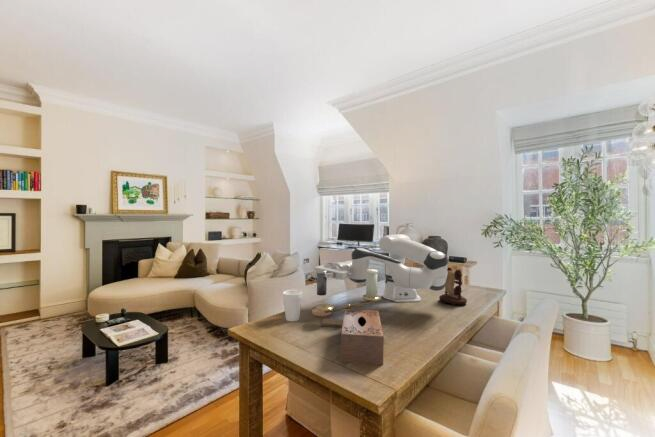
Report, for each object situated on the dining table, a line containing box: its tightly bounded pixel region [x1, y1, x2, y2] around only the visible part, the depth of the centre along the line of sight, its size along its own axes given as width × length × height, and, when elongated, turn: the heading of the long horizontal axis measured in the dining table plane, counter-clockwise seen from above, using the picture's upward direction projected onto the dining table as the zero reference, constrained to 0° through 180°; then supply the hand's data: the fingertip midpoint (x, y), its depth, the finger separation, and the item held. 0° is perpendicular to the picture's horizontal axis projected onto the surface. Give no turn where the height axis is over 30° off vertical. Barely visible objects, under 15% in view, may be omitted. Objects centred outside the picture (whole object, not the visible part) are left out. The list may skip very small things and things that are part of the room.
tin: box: [316, 270, 328, 296], centre depth 146 cm, size 5×5×12 cm
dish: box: [311, 307, 332, 318], centre depth 146 cm, size 10×10×1 cm
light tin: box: [365, 268, 379, 298], centre depth 130 cm, size 5×5×12 cm
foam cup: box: [282, 289, 303, 322], centre depth 138 cm, size 10×9×13 cm
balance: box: [316, 294, 381, 328], centre depth 131 cm, size 29×8×14 cm, turn 84°
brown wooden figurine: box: [438, 267, 468, 307], centre depth 167 cm, size 15×15×20 cm
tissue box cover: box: [340, 308, 385, 366], centre depth 110 cm, size 26×14×10 cm, turn 174°
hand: (320, 274), depth 145 cm, fingers closed on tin, 5 cm apart
